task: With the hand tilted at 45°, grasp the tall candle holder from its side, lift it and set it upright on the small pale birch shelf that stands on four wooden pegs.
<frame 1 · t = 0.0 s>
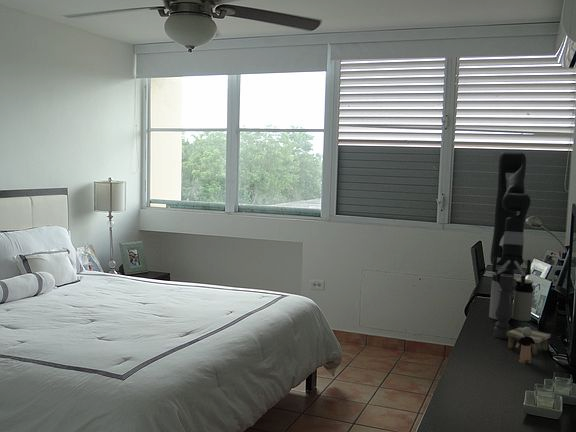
hand: (510, 284, 239), 22 cm above the table, tool pointing down, fingers open, 8 cm apart
travel mug: (521, 319, 276), on the table
candle holder: (501, 336, 246), on the table
grandmother figurine: (523, 362, 215), on the table
peg shelf: (527, 348, 231), on the table
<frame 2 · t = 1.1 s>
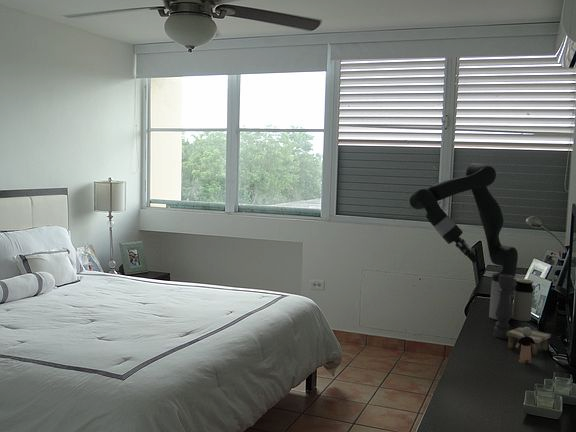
hand: (475, 260, 243), 31 cm above the table, tool tilted 45°, fingers open, 8 cm apart
nothing on the table moved.
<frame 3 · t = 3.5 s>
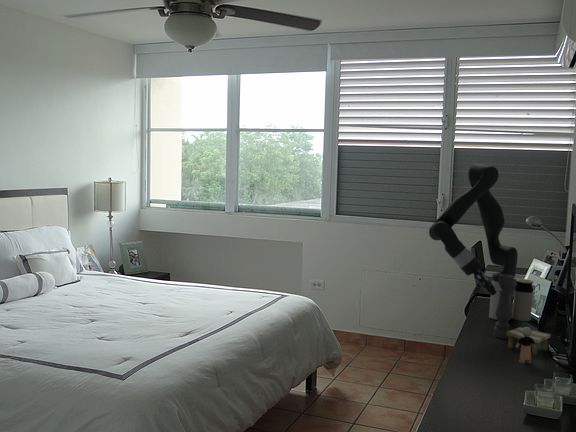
hand: (493, 291, 246), 18 cm above the table, tool tilted 45°, fingers open, 8 cm apart
nothing on the table moved.
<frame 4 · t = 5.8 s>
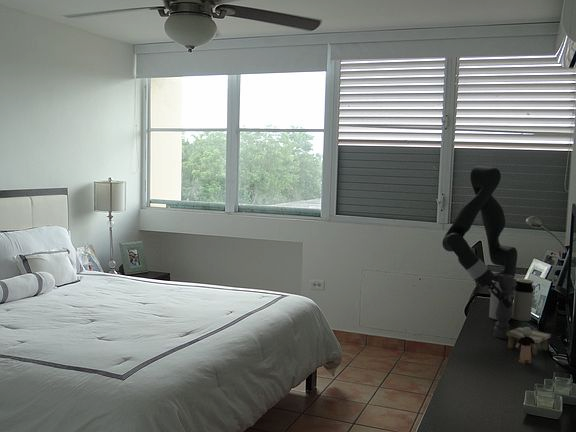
hand: (509, 305, 245), 13 cm above the table, tool tilted 45°, fingers closed on candle holder, 4 cm apart
candle holder: (501, 336, 246), on the table, touching gripper
everything else where it was.
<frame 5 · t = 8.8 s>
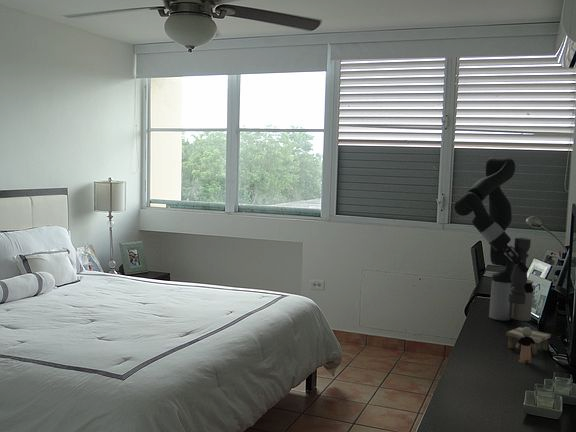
hand: (525, 269, 234), 29 cm above the table, tool tilted 45°, fingers closed on candle holder, 4 cm apart
candle holder: (516, 302, 236), point 16 cm above the table, touching gripper
everything else where it was.
when the fingers open (20 cm above the table, at t = 11.9 s): candle holder stays where it is, resting on peg shelf.
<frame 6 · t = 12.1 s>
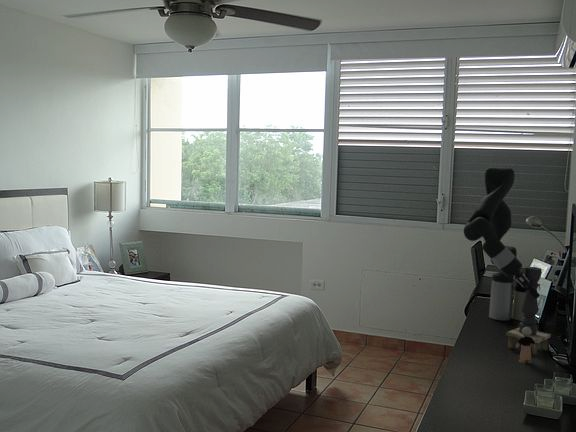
hand: (536, 295, 229), 21 cm above the table, tool tilted 45°, fingers open, 6 cm apart
candle holder: (527, 333, 231), point 6 cm above the table, touching peg shelf
everything else where it was.
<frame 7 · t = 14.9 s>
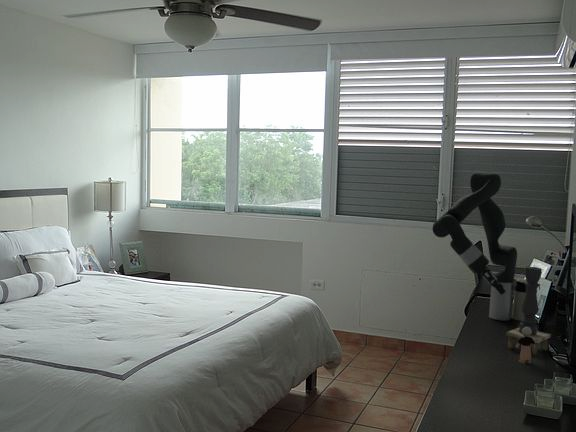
hand: (502, 290, 231), 21 cm above the table, tool tilted 45°, fingers open, 8 cm apart
nothing on the table moved.
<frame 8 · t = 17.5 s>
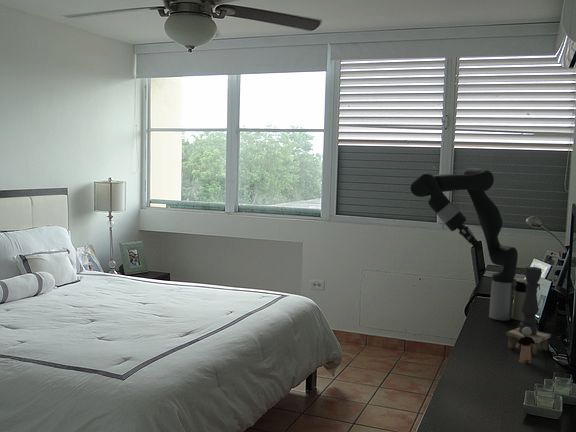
hand: (479, 247, 235), 37 cm above the table, tool tilted 45°, fingers open, 8 cm apart
nothing on the table moved.
at the end: candle holder inside the target area on the peg shelf (0.4 cm from its centre), point 5.8 cm above the peg shelf's base; candle holder tilted 0°; the gripper is holding nothing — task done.
